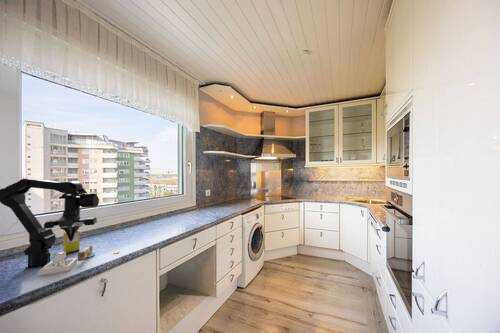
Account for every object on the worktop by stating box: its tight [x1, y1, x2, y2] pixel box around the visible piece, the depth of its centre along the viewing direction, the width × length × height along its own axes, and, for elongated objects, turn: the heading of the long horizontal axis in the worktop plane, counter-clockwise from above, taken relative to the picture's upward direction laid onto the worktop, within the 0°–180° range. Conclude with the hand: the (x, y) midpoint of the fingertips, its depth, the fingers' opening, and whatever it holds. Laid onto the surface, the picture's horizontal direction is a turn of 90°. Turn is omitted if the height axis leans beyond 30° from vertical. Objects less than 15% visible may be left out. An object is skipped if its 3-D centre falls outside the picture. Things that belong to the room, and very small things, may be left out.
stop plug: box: [53, 250, 67, 267], centre depth 94 cm, size 4×4×6 cm
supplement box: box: [62, 229, 81, 255], centre depth 116 cm, size 6×6×11 cm
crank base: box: [85, 250, 120, 259], centre depth 111 cm, size 16×5×1 cm, turn 112°
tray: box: [39, 257, 78, 277], centre depth 94 cm, size 10×10×2 cm
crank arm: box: [77, 244, 93, 262], centre depth 104 cm, size 13×3×4 cm, turn 22°
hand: (71, 240), depth 101 cm, fingers closed
